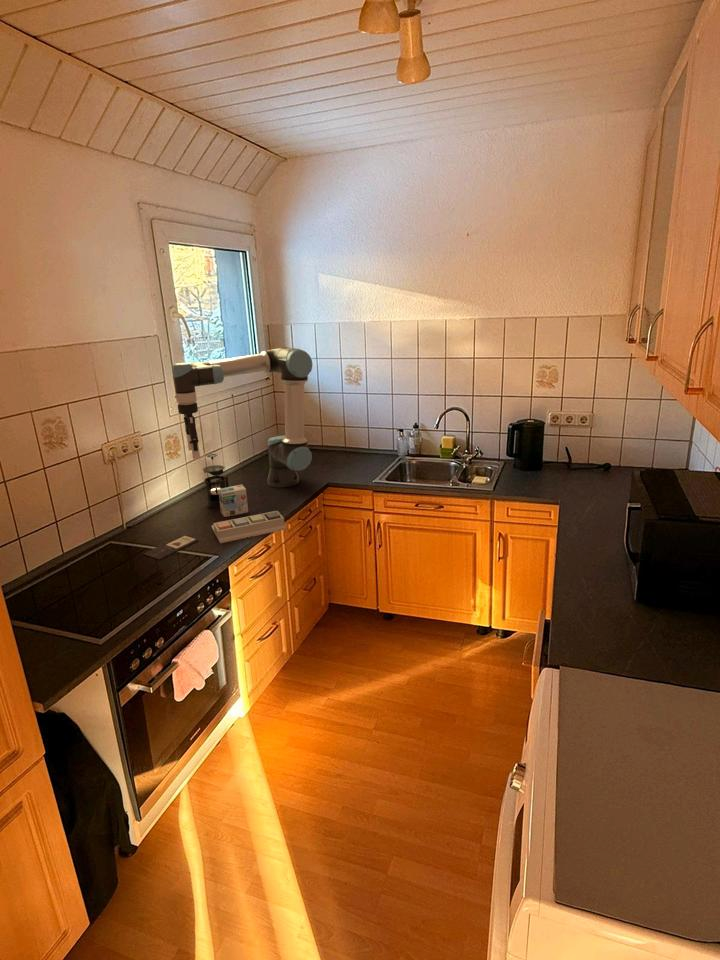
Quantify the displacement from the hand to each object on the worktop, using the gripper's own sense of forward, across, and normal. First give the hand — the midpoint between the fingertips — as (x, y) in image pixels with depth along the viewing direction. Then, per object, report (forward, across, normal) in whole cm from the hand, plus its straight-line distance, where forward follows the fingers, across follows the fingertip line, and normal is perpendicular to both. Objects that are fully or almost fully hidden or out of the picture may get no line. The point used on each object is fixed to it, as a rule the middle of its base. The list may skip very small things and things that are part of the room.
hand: (194, 454), depth 229 cm
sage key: (+24, +26, +18) cm, 39 cm away
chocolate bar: (+27, +28, -16) cm, 42 cm away
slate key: (+24, +26, +11) cm, 37 cm away
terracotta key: (+24, +26, +5) cm, 36 cm away
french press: (+27, -8, +8) cm, 29 cm away
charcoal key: (+24, +25, +24) cm, 42 cm away
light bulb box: (+27, +4, +13) cm, 30 cm away
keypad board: (+27, +24, +14) cm, 39 cm away
